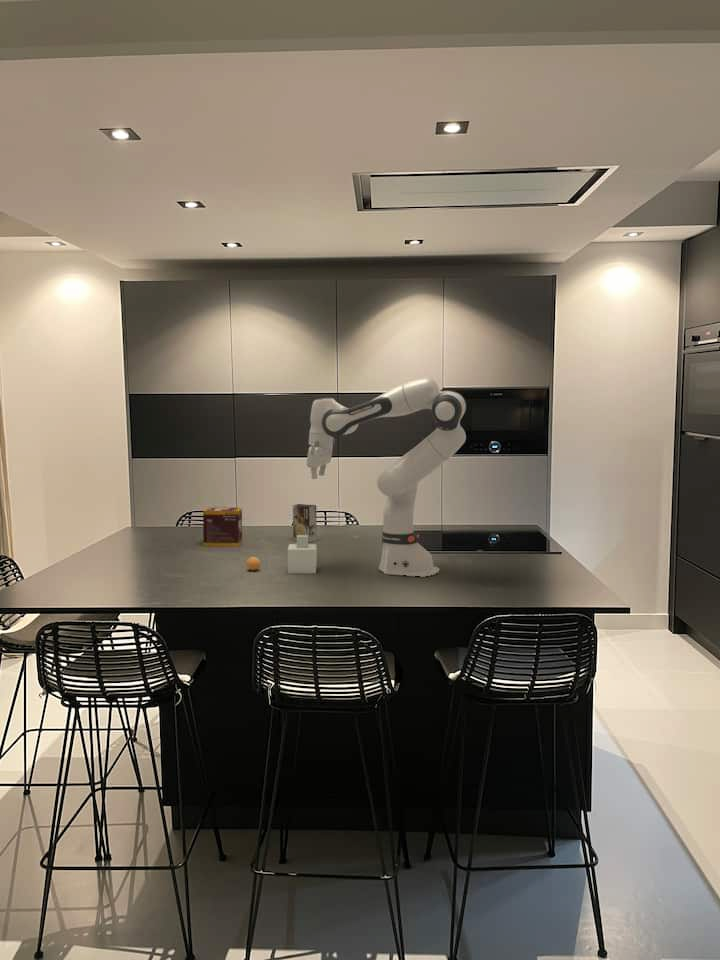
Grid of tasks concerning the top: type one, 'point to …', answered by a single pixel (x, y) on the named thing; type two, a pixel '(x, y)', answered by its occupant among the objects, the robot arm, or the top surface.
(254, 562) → the ball
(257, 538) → the top surface
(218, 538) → the supplement box
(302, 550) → the pale sage box
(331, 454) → the robot arm
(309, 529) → the coffee box
